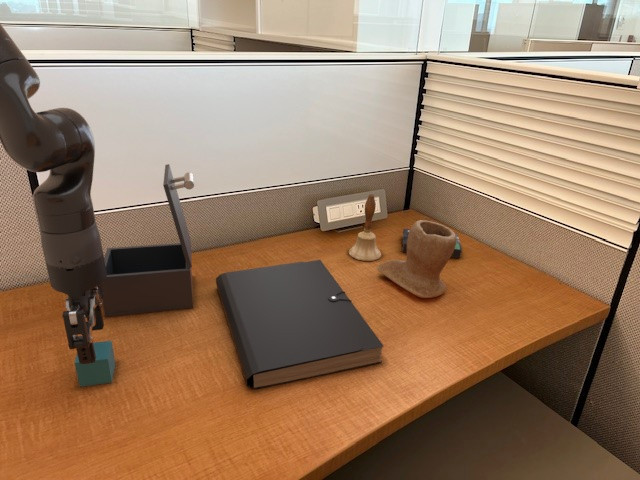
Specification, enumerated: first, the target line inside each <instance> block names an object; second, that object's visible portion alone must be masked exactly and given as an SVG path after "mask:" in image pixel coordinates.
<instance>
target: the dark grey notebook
mask: <svg viewBox="0 0 640 480" xmlns="http://www.w3.org/2000/svg"><path fill="white" fill-rule="evenodd" d="M215 284H216V287H217V291H218V295H219V297H220V301H221V304H222V308H223V311H224V314H225V319H226V322H227V324H228V327H229V331H230V335H231V338H232V341H233V344H234V347H235V351H236V355H237V359H238V360H239V366H240V369H241V371H242V375H243V378H244V381H245V384H246V386H247V387H248V388H249V389H251V390H260V389H264V388H270V387H274V386H279V385H283V384H287V383H288V384H289V383H292V382H297V381H302V380H306V379H311V378H315V377H316V378H317V377H320V376H325V375H330V374H334V373H339V372H343V371H349V370H353V369H359V368H361V367H366V366H371V365H375V364H380V363H383V361H382V354H383V347H384V344H383V343H382V341H381V340H380V339H379V337H378V336H377V334H376V333H375V332H374V330H373V329H372V328H371V326H370V325H369V324H368V322H367V320H365V318H364V316H363V315H362V314H361V313H360V311H359V310H358V309H357V308H356V306H355V305H354V303H353V301H352V300H351V299H350V297H348V295H347V294H346V291H344V290H343V289H342V287H341V285H340V284H339V283H338V282H337V280H336V279H335V277H334V276H333V275H332V273H331V272H330V271H329V269H328V268H327V267H326V265H325V264H324V263H323V261H322V260H321V259H315V260H309V261H297V262H290V263H284V264H283V263H282V264H276V265H269V266H263V267H255V268H247V269H240V270H234V271H228V272H227V271H226V272H223V273H220V274H218V275H217V277H216V278H215Z"/></svg>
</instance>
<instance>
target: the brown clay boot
mask: <svg viewBox="0 0 640 480" xmlns="http://www.w3.org/2000/svg"><path fill="white" fill-rule="evenodd" d="M409 229H410V231H409V234H408V240H407V253H406V260H405V259H404V260H400V259H389V260H385V261H384V262H382V263H380V264H378V266H377V268H376V270H377V271H378V272H379V273H380V274H382V275H384V276H385V277H387V278H388V279H389V280H390V281H392V282H393V283H395V284H396V285H398V286H399V287H401V288H402V289H404V290H405V291H407V292H409V293H411V294H413V295H414V296H416V297H418V298H420V299H432V298H436V297H439V296H441V295H443V294H444V293H445V292H446V290H447V285H446V284H445V283H444V282H443V281H442V279H441V273H442V271H443V270H444V268H445V267H446V265H447V263H448V262H449V261H450V259H451V258H452V257H451V255H452V253H453V251H454V249H455V246H456V235H457V234H456V233H455V231H454V230H453V229H451V228H450V227H447V226H446V225H444V224H441V223H438V222H435V221H431V220H425V219H420V220H417V221H415V222H414V223H413V224H412V225H411V227H409Z"/></svg>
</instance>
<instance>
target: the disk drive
mask: <svg viewBox="0 0 640 480" xmlns="http://www.w3.org/2000/svg"><path fill="white" fill-rule="evenodd" d="M409 231H410V228H403V229H402V252H403V253H406V254H407V240H408V234H409ZM455 235H456V246H455V249H454V251H453V253H452V255H451V257H450V258H456V259H457V258H458V259H461V257H462V251H463V250H462V249H463V248H462V245H461V241H460V238H459V234H455Z"/></svg>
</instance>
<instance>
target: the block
mask: <svg viewBox="0 0 640 480" xmlns="http://www.w3.org/2000/svg"><path fill="white" fill-rule="evenodd" d="M93 345H94V350H95V355H96V360H95V362H94V363H88V364H81V363H80V362H79V358H78V354H77V353H76V356H75V360H74V367H75V372H76V373H75V374H76V377H77V382H78V386H79V388H82V387H90V386H97V385H105V384H112V383H113V381H114V375H115V368H116V363H117V362H116V357H115V352H114V347H113V340H103V341H96V342H95V341H94V342H93Z"/></svg>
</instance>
